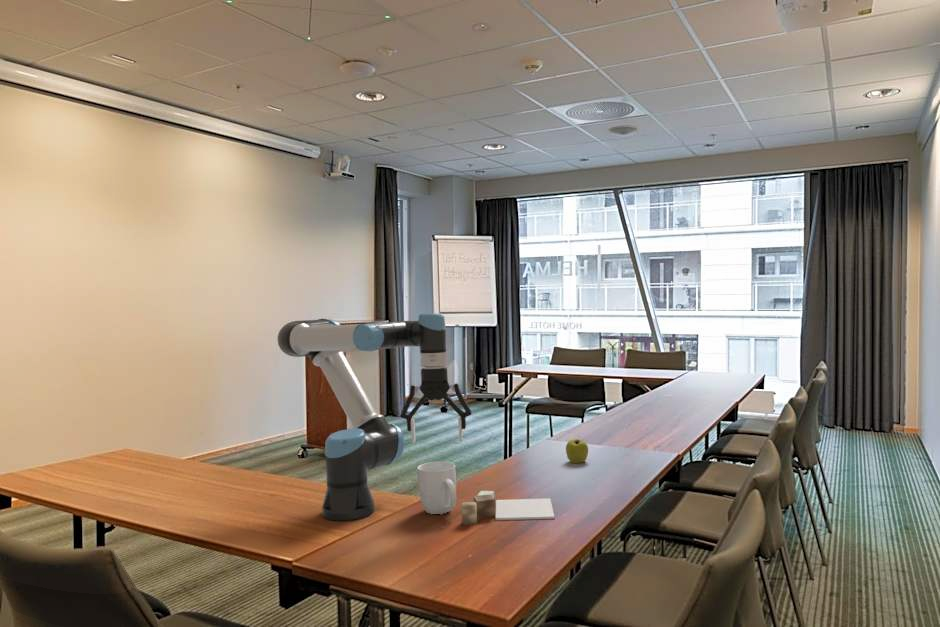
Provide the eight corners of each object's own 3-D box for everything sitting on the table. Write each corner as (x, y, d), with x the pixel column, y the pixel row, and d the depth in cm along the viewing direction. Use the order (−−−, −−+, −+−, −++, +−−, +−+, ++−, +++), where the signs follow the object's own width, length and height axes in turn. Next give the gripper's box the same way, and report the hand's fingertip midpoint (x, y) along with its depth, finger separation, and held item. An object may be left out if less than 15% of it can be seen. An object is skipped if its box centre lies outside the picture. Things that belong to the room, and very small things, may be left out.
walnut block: (478, 519, 178) (477, 501, 178) (474, 513, 183) (473, 496, 183) (495, 517, 179) (494, 499, 179) (491, 511, 184) (490, 494, 184)
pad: (495, 520, 176) (495, 517, 176) (496, 501, 192) (496, 499, 192) (554, 518, 175) (554, 516, 175) (550, 500, 191) (550, 498, 191)
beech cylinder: (462, 525, 174) (461, 506, 173) (462, 519, 178) (462, 501, 177) (476, 524, 173) (476, 506, 173) (477, 519, 177) (476, 501, 177)
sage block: (476, 510, 185) (476, 496, 185) (481, 504, 191) (481, 490, 191) (490, 511, 184) (489, 497, 184) (494, 504, 190) (494, 491, 190)
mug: (472, 515, 181) (470, 468, 181) (438, 524, 175) (436, 476, 175) (444, 502, 193) (442, 459, 193) (412, 510, 187) (410, 465, 187)
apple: (569, 455, 241) (575, 430, 239) (588, 463, 236) (594, 438, 234) (559, 460, 234) (565, 434, 232) (578, 469, 230) (585, 443, 228)
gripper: (388, 370, 181) (391, 445, 181) (477, 366, 180) (480, 442, 180) (392, 367, 189) (396, 439, 189) (478, 364, 187) (481, 437, 188)
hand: (437, 441), depth 185 cm, fingers open, 13 cm apart
